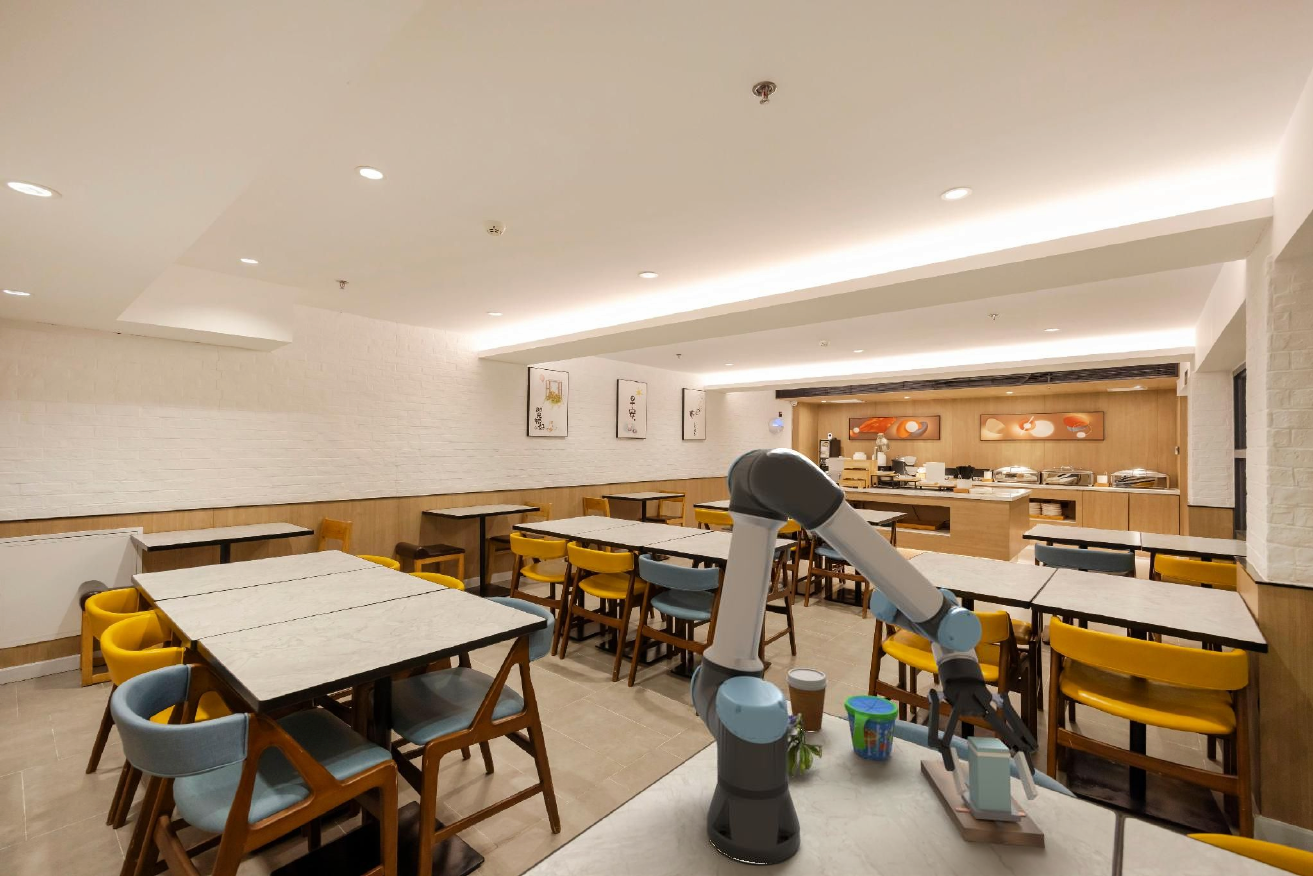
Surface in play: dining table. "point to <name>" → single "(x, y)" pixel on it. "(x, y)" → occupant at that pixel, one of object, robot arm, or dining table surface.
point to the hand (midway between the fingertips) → (997, 795)
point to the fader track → (964, 819)
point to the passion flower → (800, 746)
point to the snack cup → (871, 725)
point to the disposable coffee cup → (807, 696)
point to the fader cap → (989, 780)
